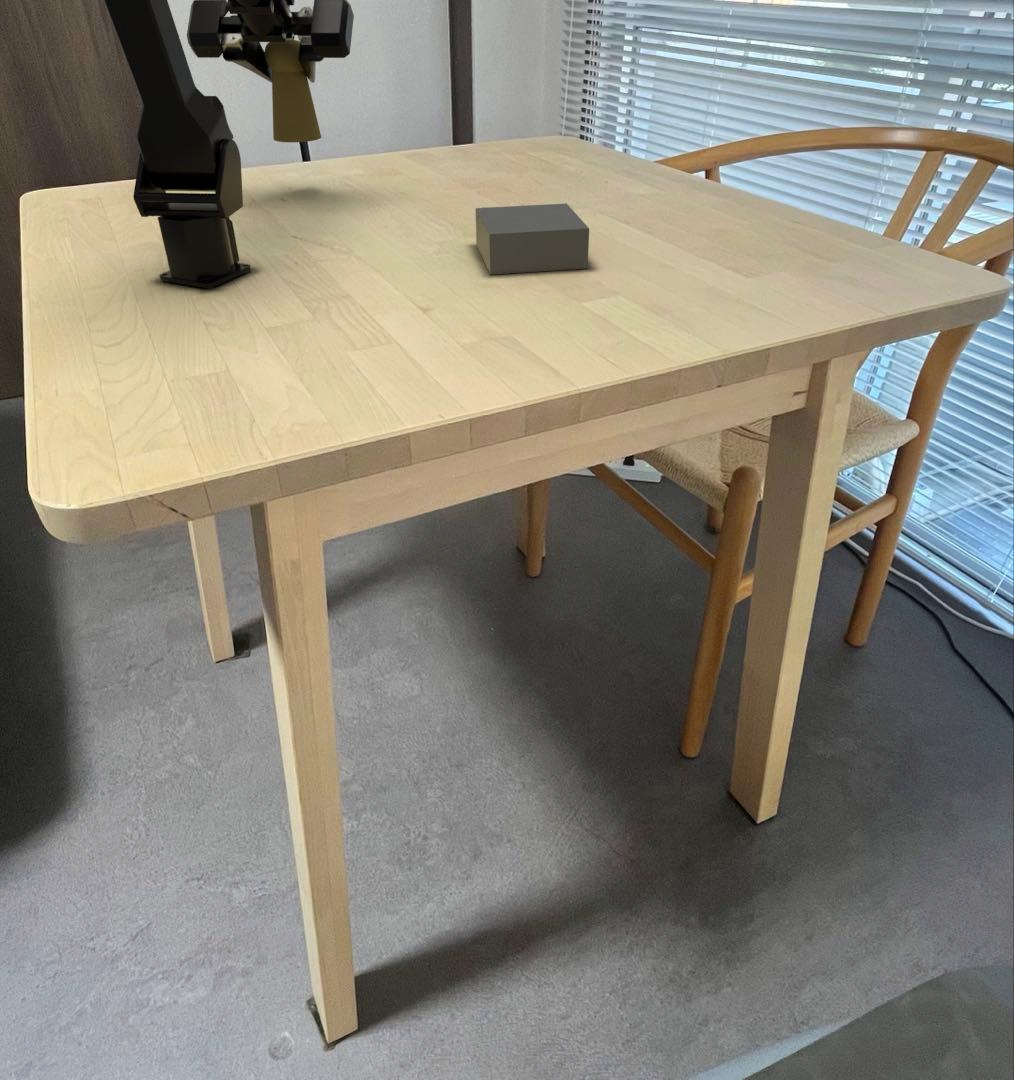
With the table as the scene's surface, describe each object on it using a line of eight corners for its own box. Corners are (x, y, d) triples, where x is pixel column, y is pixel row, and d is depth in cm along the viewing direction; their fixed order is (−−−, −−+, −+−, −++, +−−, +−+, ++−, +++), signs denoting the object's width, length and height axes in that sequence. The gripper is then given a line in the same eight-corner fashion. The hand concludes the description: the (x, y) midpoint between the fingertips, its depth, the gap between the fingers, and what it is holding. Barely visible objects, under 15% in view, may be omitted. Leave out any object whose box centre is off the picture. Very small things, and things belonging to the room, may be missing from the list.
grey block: (490, 274, 86) (489, 233, 84) (476, 246, 94) (475, 207, 92) (587, 268, 88) (589, 228, 85) (565, 240, 96) (567, 203, 93)
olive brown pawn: (322, 141, 109) (310, 40, 103) (273, 143, 108) (258, 42, 102) (320, 133, 114) (309, 36, 108) (273, 135, 113) (259, 38, 107)
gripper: (340, -88, 94) (372, 23, 109) (174, -86, 95) (229, 23, 111) (329, 0, 92) (364, 101, 107) (160, 1, 93) (218, 100, 109)
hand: (293, 79), depth 108 cm, fingers closed on olive brown pawn, 5 cm apart
